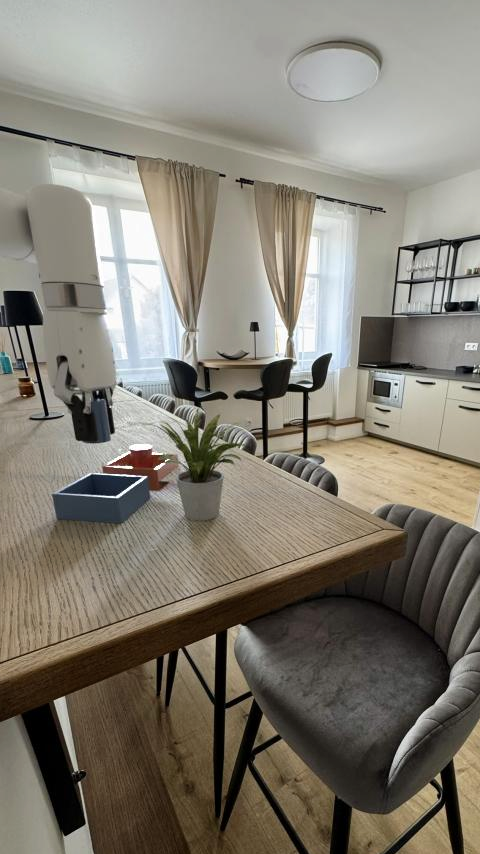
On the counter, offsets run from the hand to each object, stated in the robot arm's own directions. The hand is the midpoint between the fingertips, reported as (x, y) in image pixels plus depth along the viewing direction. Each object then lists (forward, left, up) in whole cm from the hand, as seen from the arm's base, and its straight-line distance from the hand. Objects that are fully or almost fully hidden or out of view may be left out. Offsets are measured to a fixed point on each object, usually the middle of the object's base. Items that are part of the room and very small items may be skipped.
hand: (96, 435), depth 61 cm
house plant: (+15, -1, -12) cm, 19 cm away
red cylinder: (0, +14, -11) cm, 18 cm away
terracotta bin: (0, +14, -12) cm, 18 cm away
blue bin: (0, 0, -12) cm, 12 cm away
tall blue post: (0, 0, -1) cm, 1 cm away
